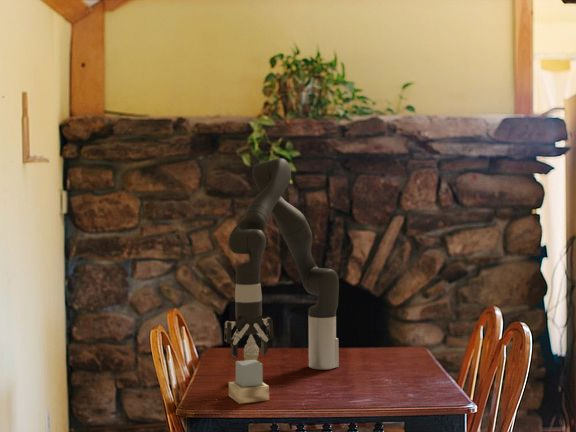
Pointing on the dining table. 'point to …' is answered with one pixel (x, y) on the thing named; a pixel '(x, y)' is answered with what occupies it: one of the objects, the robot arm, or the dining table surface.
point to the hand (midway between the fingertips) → (249, 355)
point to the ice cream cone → (251, 349)
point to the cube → (249, 373)
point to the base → (248, 392)
